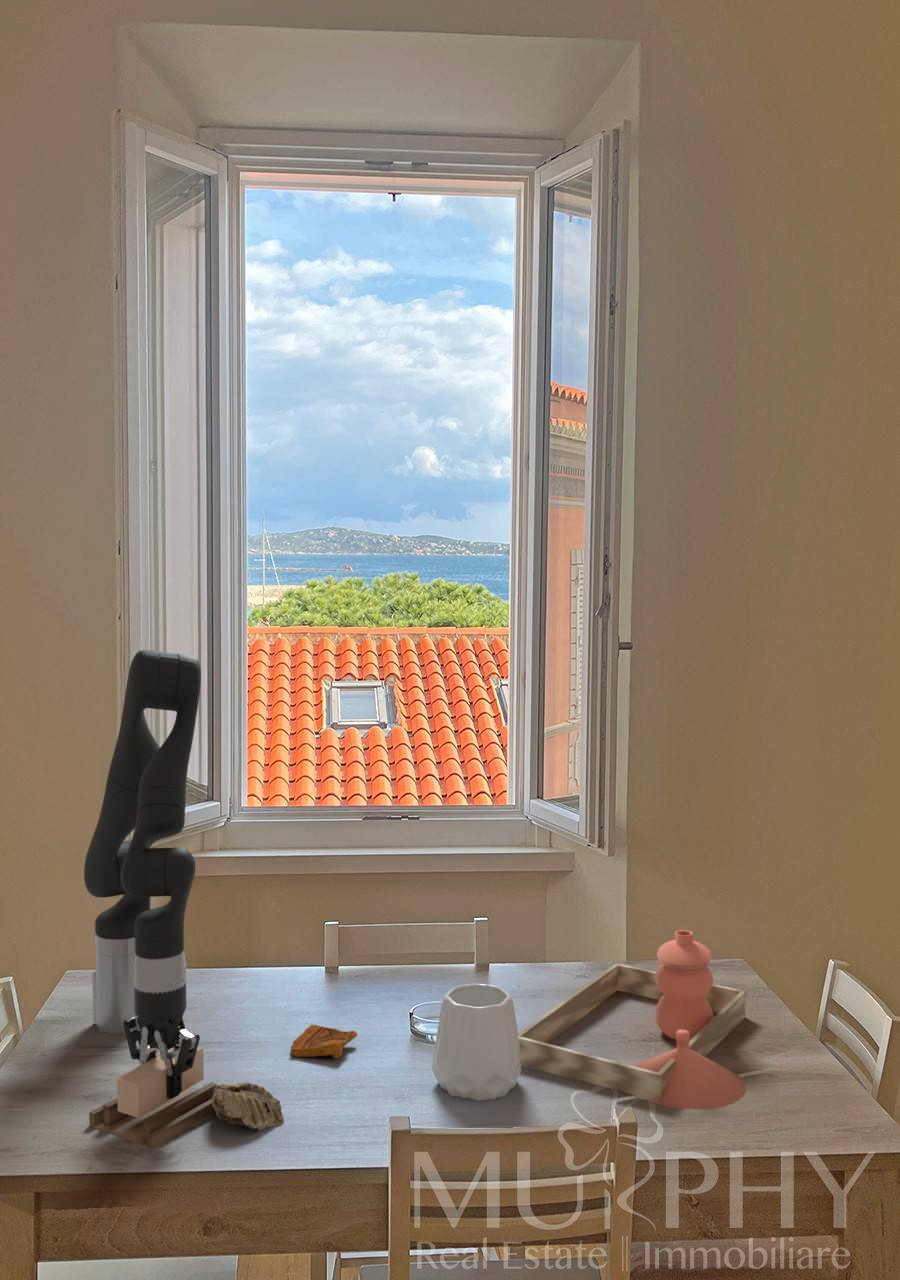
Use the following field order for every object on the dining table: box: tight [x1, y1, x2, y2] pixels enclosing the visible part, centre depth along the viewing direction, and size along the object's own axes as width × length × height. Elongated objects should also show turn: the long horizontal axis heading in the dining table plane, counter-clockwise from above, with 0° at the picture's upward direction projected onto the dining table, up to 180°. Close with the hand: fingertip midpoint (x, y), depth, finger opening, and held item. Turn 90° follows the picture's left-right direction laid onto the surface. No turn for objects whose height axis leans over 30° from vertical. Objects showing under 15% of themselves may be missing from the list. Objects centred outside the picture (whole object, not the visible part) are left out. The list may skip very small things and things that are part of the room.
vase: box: [431, 983, 522, 1101], centre depth 190 cm, size 14×14×15 cm
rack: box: [88, 1082, 218, 1149], centre depth 179 cm, size 13×16×4 cm
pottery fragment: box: [290, 1024, 358, 1059], centre depth 204 cm, size 10×5×10 cm
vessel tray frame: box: [518, 963, 747, 1103], centre depth 208 cm, size 26×41×5 cm, turn 148°
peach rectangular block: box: [116, 1046, 205, 1118], centre depth 178 cm, size 14×4×5 cm, turn 151°
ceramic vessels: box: [634, 929, 747, 1110], centre depth 198 cm, size 35×21×19 cm, turn 168°
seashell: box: [212, 1082, 285, 1132], centre depth 177 cm, size 11×7×10 cm
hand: (161, 1091), depth 179 cm, fingers closed on peach rectangular block, 4 cm apart
